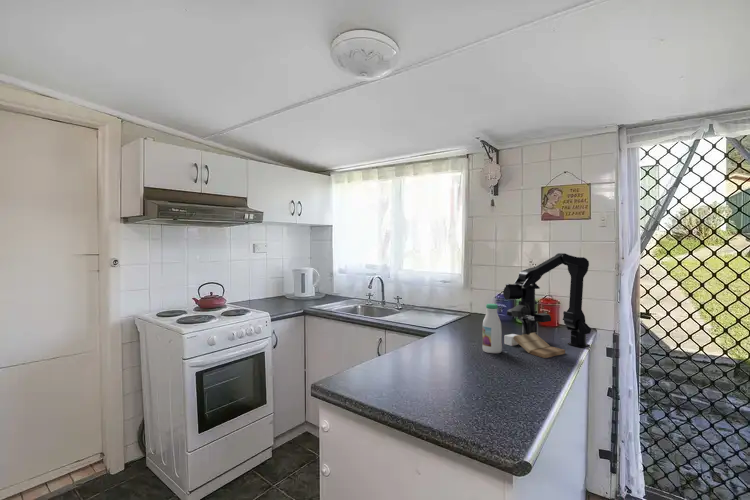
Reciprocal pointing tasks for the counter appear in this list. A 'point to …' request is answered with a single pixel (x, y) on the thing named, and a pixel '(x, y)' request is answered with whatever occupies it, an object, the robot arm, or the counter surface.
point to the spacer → (510, 339)
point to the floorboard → (548, 352)
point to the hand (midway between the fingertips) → (528, 334)
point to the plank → (530, 342)
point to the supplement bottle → (534, 330)
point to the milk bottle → (492, 330)
